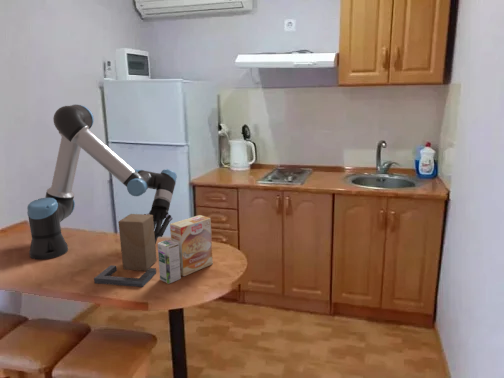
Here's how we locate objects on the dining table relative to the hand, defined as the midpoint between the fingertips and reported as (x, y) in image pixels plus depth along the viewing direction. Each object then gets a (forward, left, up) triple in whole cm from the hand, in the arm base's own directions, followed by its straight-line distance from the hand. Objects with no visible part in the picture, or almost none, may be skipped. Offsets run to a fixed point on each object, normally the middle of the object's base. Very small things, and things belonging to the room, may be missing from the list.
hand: (148, 251), depth 175 cm
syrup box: (+17, -18, -3) cm, 25 cm away
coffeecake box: (+22, -7, -3) cm, 23 cm away
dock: (0, -19, -3) cm, 20 cm away
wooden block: (0, -8, -3) cm, 8 cm away
